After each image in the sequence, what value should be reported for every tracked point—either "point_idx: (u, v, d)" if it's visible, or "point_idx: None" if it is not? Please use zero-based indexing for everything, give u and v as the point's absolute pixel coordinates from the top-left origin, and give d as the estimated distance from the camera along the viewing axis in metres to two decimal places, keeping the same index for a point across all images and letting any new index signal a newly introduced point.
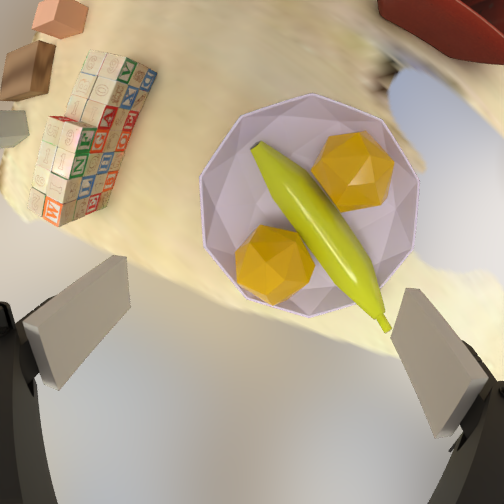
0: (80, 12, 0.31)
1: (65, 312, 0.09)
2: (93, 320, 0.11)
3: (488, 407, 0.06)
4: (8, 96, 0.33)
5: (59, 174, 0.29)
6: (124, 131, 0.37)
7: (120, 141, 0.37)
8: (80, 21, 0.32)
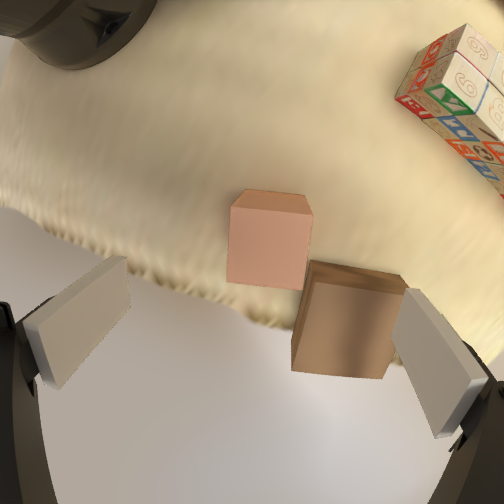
0: (263, 194, 0.24)
1: (65, 312, 0.09)
2: (93, 320, 0.11)
3: (488, 407, 0.06)
4: (390, 355, 0.25)
5: None
6: None
7: None
8: (283, 195, 0.25)
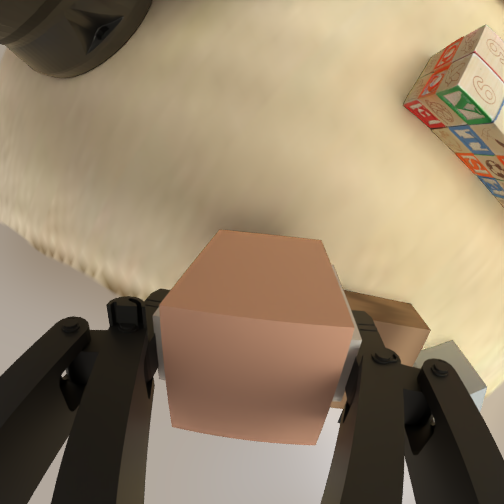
0: (248, 243, 0.13)
1: None
2: None
3: (361, 376, 0.07)
4: None
5: None
6: None
7: None
8: (285, 244, 0.14)
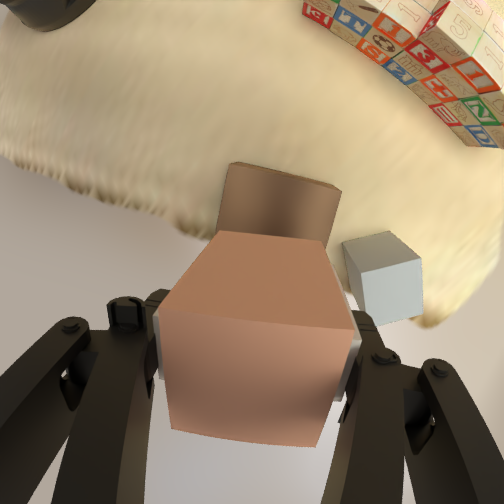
0: (247, 244, 0.13)
1: None
2: None
3: (361, 376, 0.07)
4: None
5: None
6: None
7: None
8: (285, 244, 0.14)
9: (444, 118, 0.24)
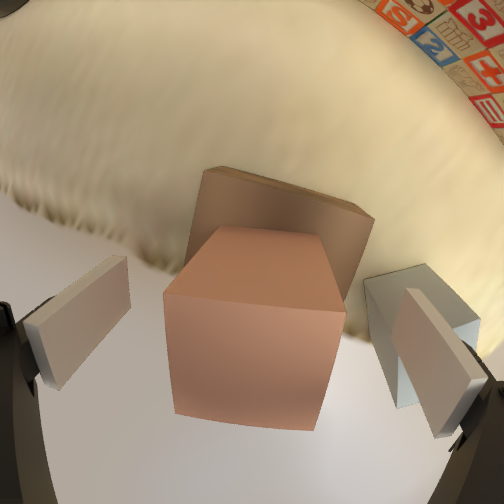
0: (247, 238, 0.14)
1: (65, 312, 0.09)
2: (93, 320, 0.11)
3: (488, 407, 0.06)
4: None
5: None
6: None
7: None
8: (283, 238, 0.14)
9: (488, 116, 0.15)
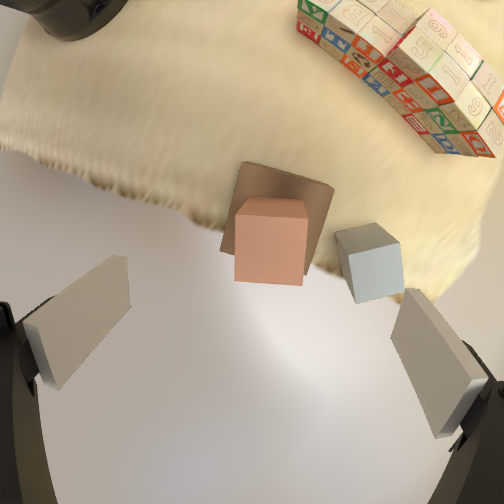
0: (265, 200, 0.27)
1: (65, 312, 0.09)
2: (93, 320, 0.11)
3: (488, 407, 0.06)
4: (313, 248, 0.30)
5: (476, 68, 0.16)
6: None
7: None
8: (284, 200, 0.27)
9: (415, 127, 0.29)
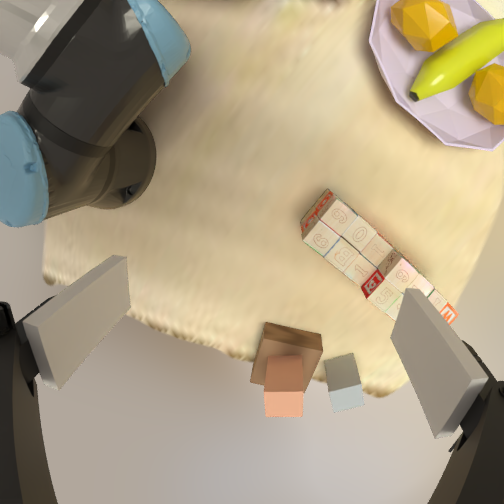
0: (278, 363, 0.42)
1: (65, 312, 0.09)
2: (93, 320, 0.11)
3: (488, 407, 0.06)
4: (308, 380, 0.45)
5: None
6: (379, 234, 0.39)
7: None
8: (289, 360, 0.42)
9: None
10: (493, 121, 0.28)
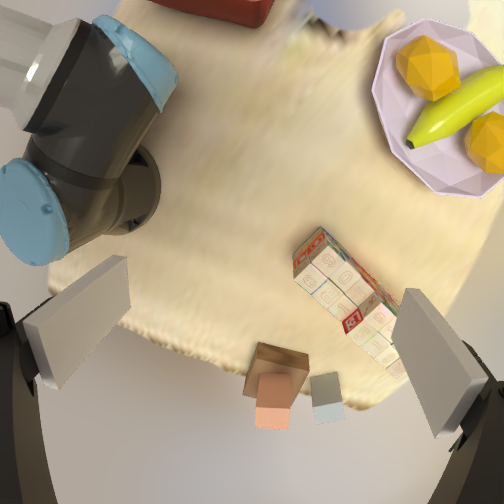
0: (269, 380, 0.46)
1: (65, 312, 0.09)
2: (93, 320, 0.11)
3: (488, 407, 0.06)
4: (295, 395, 0.49)
5: None
6: (364, 272, 0.43)
7: (370, 278, 0.44)
8: (279, 378, 0.46)
9: None
10: (484, 170, 0.33)
